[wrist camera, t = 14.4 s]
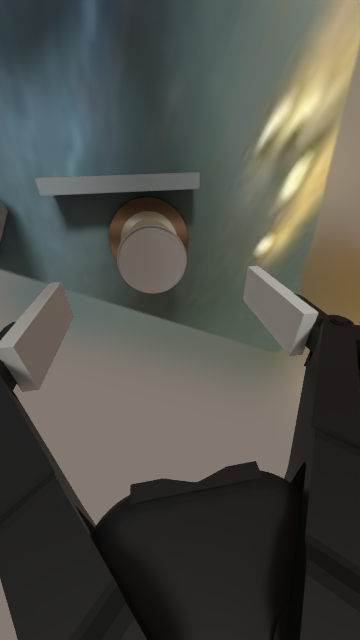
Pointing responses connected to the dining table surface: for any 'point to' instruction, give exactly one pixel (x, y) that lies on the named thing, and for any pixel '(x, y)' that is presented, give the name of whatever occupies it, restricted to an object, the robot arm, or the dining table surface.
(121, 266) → the coffee cup
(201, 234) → the dining table surface
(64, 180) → the grey wall
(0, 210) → the white open storage bin
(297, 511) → the robot arm
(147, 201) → the walnut mat
